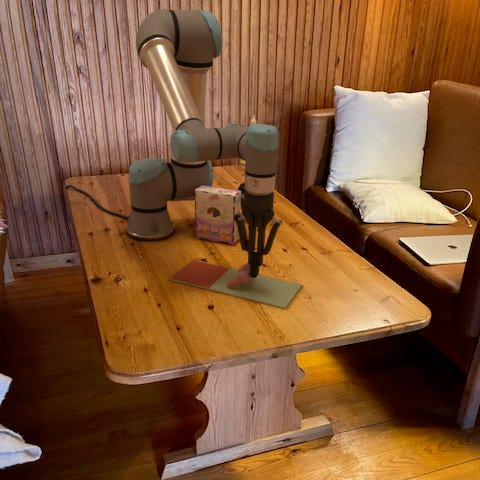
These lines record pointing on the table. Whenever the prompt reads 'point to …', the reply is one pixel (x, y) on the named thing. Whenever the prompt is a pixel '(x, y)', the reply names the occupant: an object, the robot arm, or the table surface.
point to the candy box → (216, 214)
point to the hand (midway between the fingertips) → (254, 275)
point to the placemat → (253, 290)
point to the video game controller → (240, 277)
